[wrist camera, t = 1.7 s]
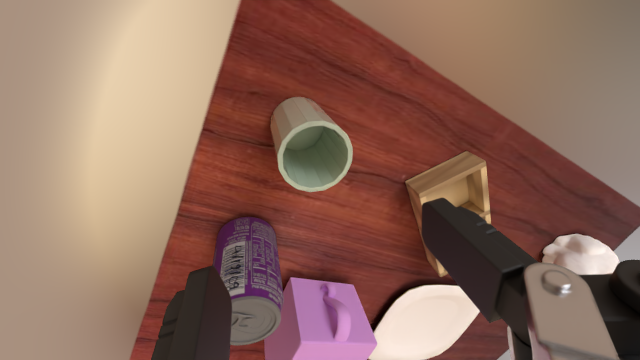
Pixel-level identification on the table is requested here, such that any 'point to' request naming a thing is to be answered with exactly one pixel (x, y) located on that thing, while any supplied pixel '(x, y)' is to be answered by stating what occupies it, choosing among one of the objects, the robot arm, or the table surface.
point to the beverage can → (250, 278)
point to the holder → (451, 191)
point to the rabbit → (581, 255)
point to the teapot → (320, 324)
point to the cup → (309, 145)
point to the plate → (423, 323)
